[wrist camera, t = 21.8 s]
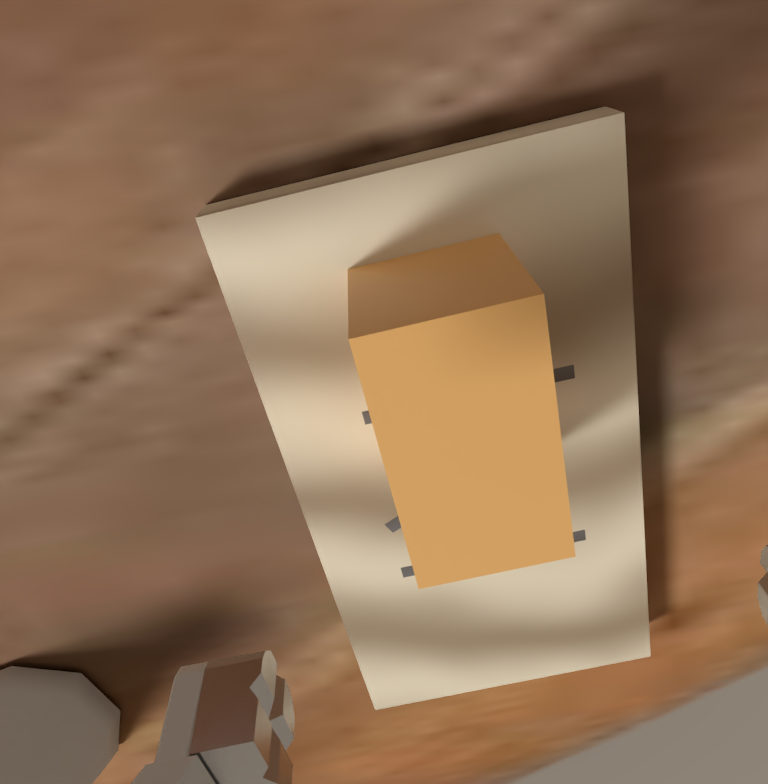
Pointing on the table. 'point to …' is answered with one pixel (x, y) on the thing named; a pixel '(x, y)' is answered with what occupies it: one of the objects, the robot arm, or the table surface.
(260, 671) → the robot arm
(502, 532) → the block
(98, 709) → the flask
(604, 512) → the birch board
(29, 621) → the table surface
